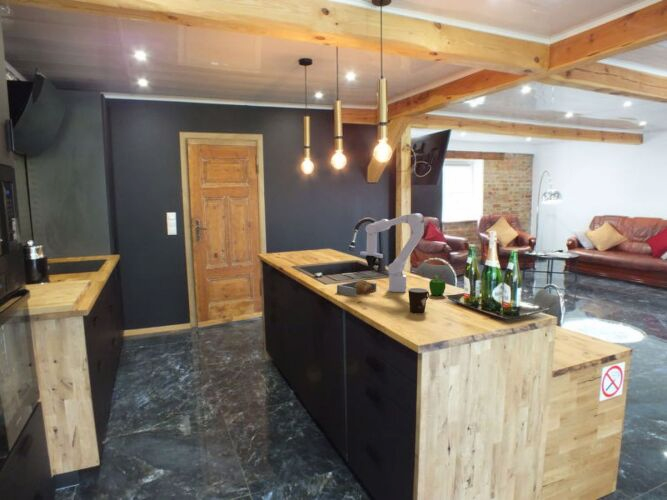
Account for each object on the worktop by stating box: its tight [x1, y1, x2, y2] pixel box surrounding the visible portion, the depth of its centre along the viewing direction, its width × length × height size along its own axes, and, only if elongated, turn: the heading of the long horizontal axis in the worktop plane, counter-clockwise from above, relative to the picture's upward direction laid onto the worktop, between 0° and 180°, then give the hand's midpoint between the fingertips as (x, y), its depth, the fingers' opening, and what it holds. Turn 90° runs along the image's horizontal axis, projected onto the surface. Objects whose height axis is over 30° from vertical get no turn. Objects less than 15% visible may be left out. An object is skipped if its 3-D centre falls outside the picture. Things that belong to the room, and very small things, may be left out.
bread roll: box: [354, 280, 373, 295], centre depth 229 cm, size 10×10×8 cm
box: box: [336, 280, 377, 297], centre depth 229 cm, size 12×18×4 cm, turn 138°
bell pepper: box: [428, 275, 446, 297], centre depth 223 cm, size 8×8×10 cm
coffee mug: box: [407, 287, 430, 314], centre depth 191 cm, size 12×9×10 cm
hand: (370, 269), depth 239 cm, fingers closed
